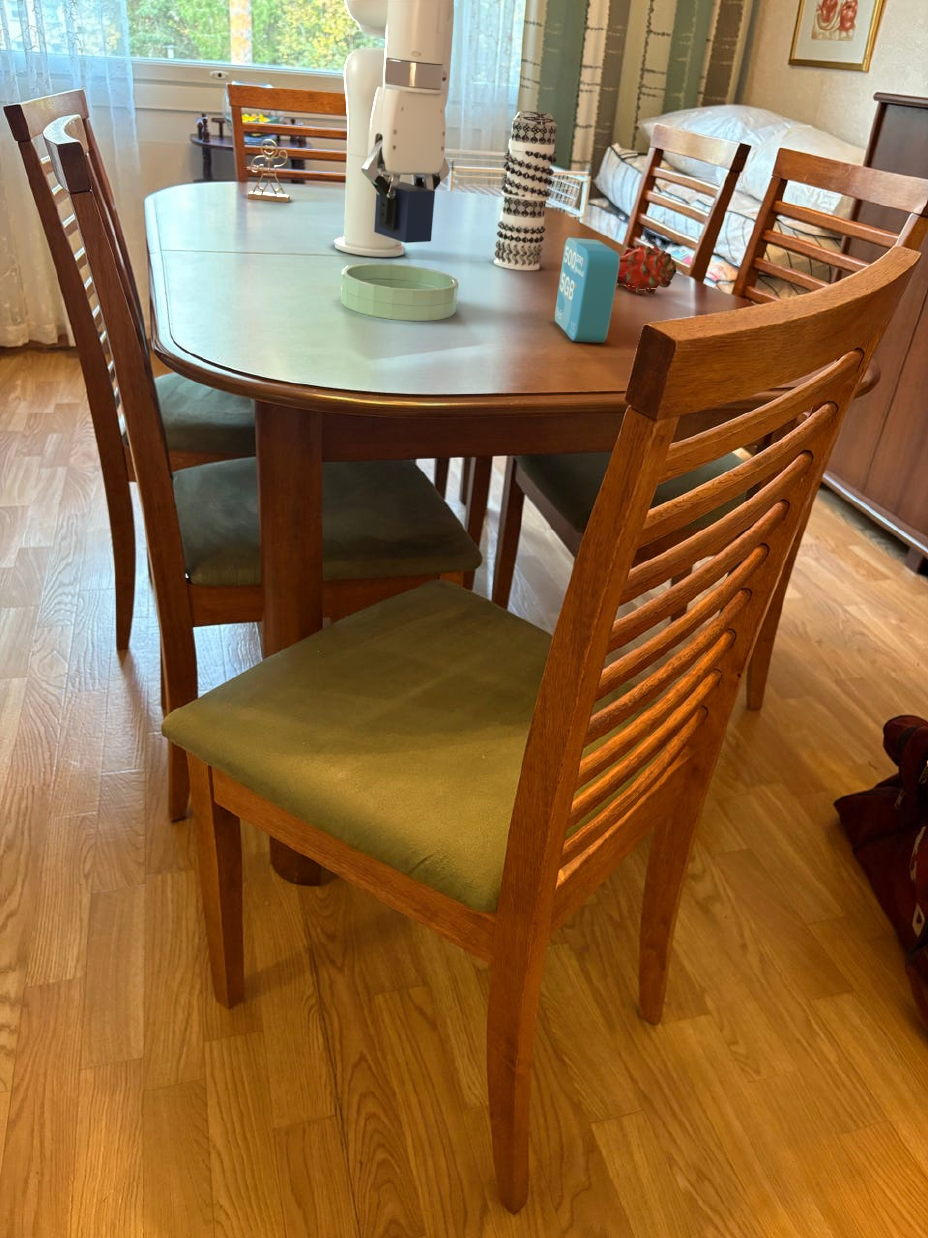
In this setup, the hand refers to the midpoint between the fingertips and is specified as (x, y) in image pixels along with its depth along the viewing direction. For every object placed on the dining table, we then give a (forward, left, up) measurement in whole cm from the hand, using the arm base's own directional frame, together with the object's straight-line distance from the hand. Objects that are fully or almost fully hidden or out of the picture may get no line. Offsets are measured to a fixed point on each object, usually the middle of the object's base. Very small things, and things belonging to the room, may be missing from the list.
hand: (403, 226), depth 133 cm
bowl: (0, 0, -11) cm, 11 cm away
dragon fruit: (-50, +4, -11) cm, 51 cm away
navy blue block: (0, 0, -1) cm, 1 cm away
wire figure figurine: (-34, -89, -11) cm, 96 cm away
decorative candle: (-43, -19, -11) cm, 48 cm away
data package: (-17, +20, -11) cm, 29 cm away
